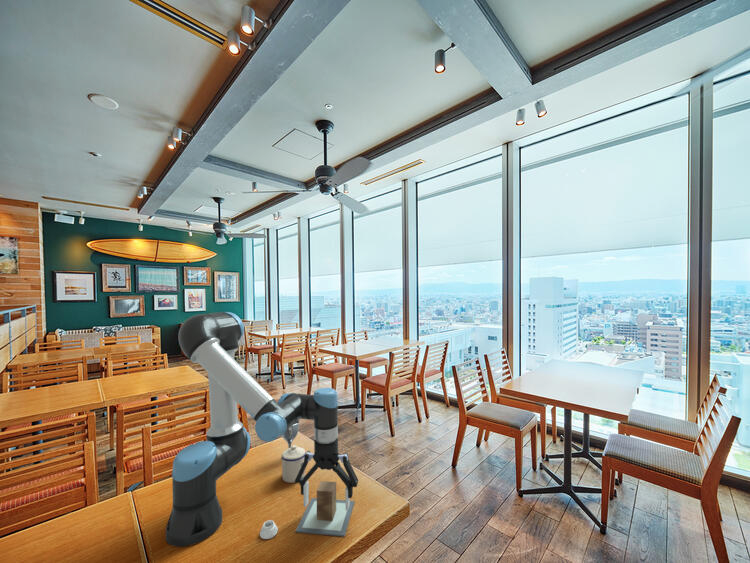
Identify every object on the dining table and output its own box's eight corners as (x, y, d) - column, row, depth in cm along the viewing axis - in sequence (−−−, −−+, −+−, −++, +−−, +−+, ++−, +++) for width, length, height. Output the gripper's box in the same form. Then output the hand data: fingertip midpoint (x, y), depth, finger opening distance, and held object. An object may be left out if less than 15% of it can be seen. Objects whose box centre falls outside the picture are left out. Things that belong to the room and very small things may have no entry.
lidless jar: (260, 529, 96) (259, 542, 91) (260, 519, 96) (259, 531, 91) (277, 525, 97) (277, 538, 92) (277, 516, 97) (277, 528, 92)
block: (316, 520, 99) (316, 490, 99) (321, 508, 104) (321, 481, 104) (332, 521, 98) (332, 491, 98) (336, 509, 103) (336, 481, 103)
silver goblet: (276, 461, 134) (276, 425, 134) (285, 451, 141) (285, 417, 142) (294, 462, 132) (294, 426, 133) (302, 452, 140) (301, 418, 140)
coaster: (295, 532, 94) (295, 530, 94) (311, 499, 109) (311, 497, 109) (344, 536, 92) (344, 535, 92) (354, 502, 107) (354, 500, 107)
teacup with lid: (303, 483, 118) (303, 451, 118) (279, 484, 118) (278, 452, 118) (309, 465, 130) (308, 436, 130) (286, 466, 130) (286, 437, 130)
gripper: (284, 442, 99) (284, 511, 99) (362, 446, 96) (363, 517, 95) (293, 431, 107) (293, 495, 106) (366, 435, 103) (367, 500, 103)
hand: (326, 506), depth 101 cm, fingers open, 13 cm apart
